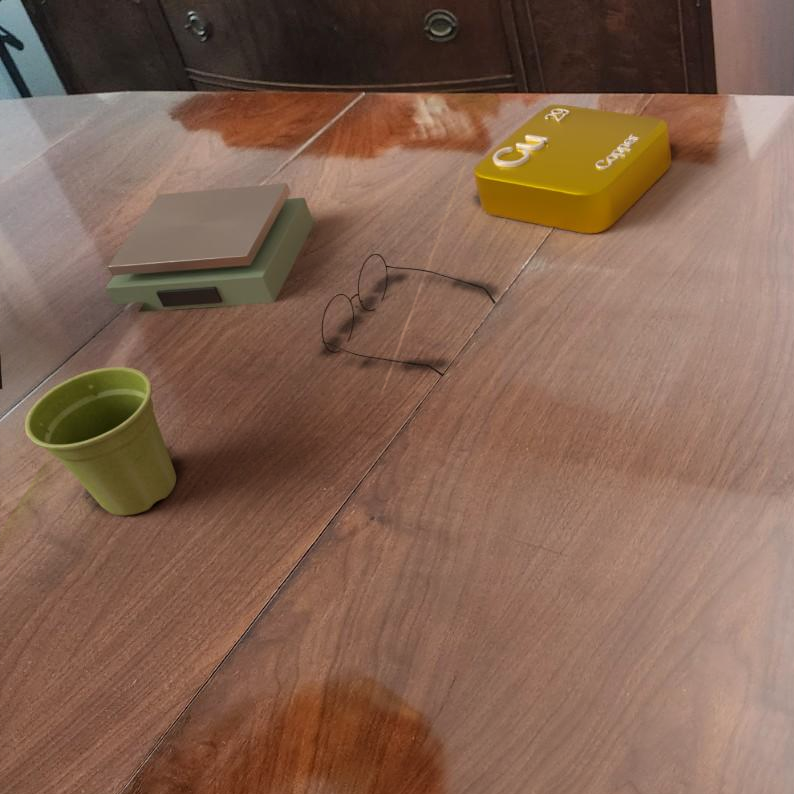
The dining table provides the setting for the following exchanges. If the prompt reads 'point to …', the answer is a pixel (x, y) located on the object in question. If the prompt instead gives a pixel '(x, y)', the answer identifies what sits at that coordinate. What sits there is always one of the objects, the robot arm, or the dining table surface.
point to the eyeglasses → (381, 300)
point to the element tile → (574, 168)
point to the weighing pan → (201, 230)
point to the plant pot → (106, 437)
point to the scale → (224, 272)
